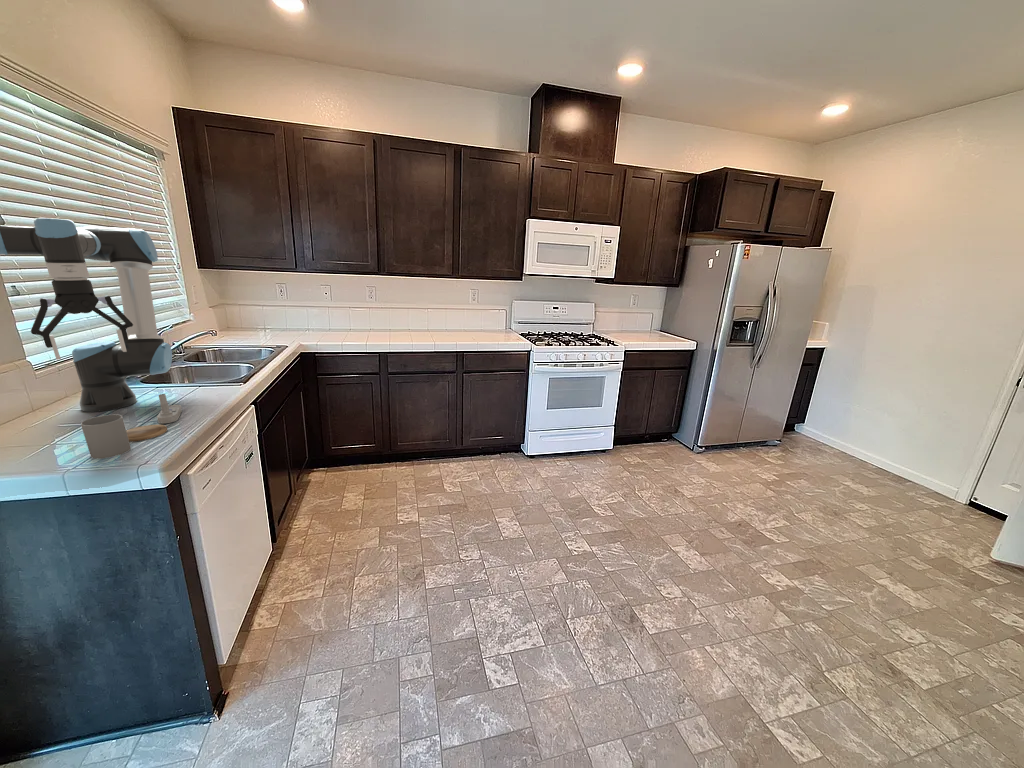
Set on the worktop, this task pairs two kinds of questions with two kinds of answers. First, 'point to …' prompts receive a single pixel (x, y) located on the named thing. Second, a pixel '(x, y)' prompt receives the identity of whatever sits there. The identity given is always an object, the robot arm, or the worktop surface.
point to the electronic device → (168, 411)
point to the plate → (145, 432)
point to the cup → (106, 436)
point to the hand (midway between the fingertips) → (92, 354)
